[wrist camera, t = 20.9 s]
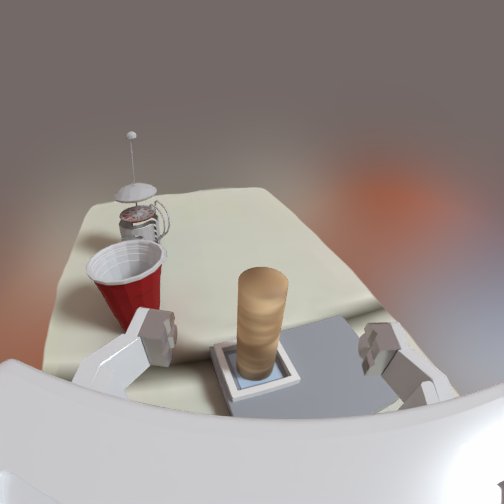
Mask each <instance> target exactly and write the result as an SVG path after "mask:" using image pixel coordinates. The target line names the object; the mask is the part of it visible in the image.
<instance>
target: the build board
mask: <svg viewBox="0 0 504 504" xmlns="http://www.w3.org/2000/svg"><path fill="white" fill-rule="evenodd" d="M359 340H360V338H359V337H358V335H357V334H356V333H355V332H354V330H353V329H352V328H351V327H350V325H349V324H348V323H347V322H346V320H345V319H344V318H343V317H342V315H337V316H334V317H331V318H327V319H324V320H320V321H317V322H313V323H310V324H306V325H303V326H299V327H295V328H291V329H288V330H284V331H280V337H279V342H278V347H277V353H276V358H275V363H274V368H273V372H272V373H271V375H270V376H269V377H268V378H266V379H264V380H260V381H251V380H247V379H245V378H243V377H242V376H241V375H240V374H239V373H238V371H237V368H236V354H237V340H232V341H227V342H222V343H217V344H214V346H213V347H210V356H211V360H212V363H213V366H214V369H215V372H216V375H217V378H218V381H219V384H220V386H221V389H222V392H223V395H224V398H225V401H226V403H227V406H228V409H229V412H230V414H231V417H243V418H260V419H323V418H339V417H351V416H361V415H370V414H376V413H377V412H379V411H381V410H383V409H384V408H386V407H388V406H389V405H391V404H393V403H394V402H396V401H397V400H398V399H399V396H398V395H397V394H396V393H395V392H394V391H393V389H392V388H391V387H390V386H389V385H388V384H387V382H386V381H385V380H384V379H383V378H382V377H381V376H382V375H380V376H364V372H363V368H362V362H363V361H364V360H363V359H362V358H361V357H360V356H359V352H358V343H359Z"/></svg>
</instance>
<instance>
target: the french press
mask: <svg viewBox="0 0 504 504" xmlns="http://www.w3.org/2000/svg"><path fill="white" fill-rule="evenodd" d="M133 138H136V133H134V132H129V133H128V134H127V135H126V139H130V141H131V140H132V139H133ZM131 157H132V171H133V181H134V183H133V184H129V185H127V186H125V187H123V188H121V189H120V190H119V191H118V192H117V193H116V194H115V195H114V198H115V199H116V201H117V202H120V203H136V206H134V207H131V208H128V209H126V210H124V211H122V212H121V214H120V218H121V221H120V223H119V227H120V233H121V236H122V238H123V239H122V242H123V241H128V240H148V241H153V242H155V243H157V244H160V245H161V238H162V237H163V236H164V235H166V234H167V233H168V231H169V228H170V217H169V213H168V211H167V209H166V208H165V206H164V205H163V204H162V203H160V202H159V201H158V200H156V201H155V205H153V204H150V205H149V206H146V205H145V206H143V205H142V206H140V205H139V206H137V202H141V201H144V200H147V199H149V198H152V197H153V196H154V195H155V193H156V188H154V187H153V186H151V185H148V184H143V183H135V180H134V169H133V156H132V141H131ZM156 202H158V203H159V204H161V205H162V206H163V208H164V209H165V211H166V213H167V215H168V219H169V226H168V230H167V232H166V233H165V228H166V227H165V220H164V217H163V215H162V213H161V212H160V210H159V209H158V208H157V207H156ZM151 205H152V206H154V208H153V207H151ZM155 208H156V209H157V210H158V211H159V212H160V214H161V216H162V218H163V222H164V232H163V235H160V230H159V221H158V216H157V215H156V209H155ZM150 218H155V219H156V220H157V221H156V222H155V221H151V220H150V221H148V222H146V223H144V224H141V225H138V226H133V223H138V222H142V221H145V220H148V219H150ZM148 224H153V225H151V226H149V227H146V228H143V229H138V228H141V227H144V226H146V225H148ZM154 224H156V227H155V226H154ZM134 229H135V230H134ZM154 229H155V230H156V231H157V233H156V232H154ZM164 233H165V234H164ZM135 235H139V236H138V237H135ZM155 235H157V237H155ZM142 238H144V239H142ZM162 248H163V247H162ZM163 249H164V248H163ZM164 251H165V254H164V259H163V262H164V261H165V259H166V258H167V251H166V250H165V249H164Z"/></svg>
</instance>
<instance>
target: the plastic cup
mask: <svg viewBox="0 0 504 504" xmlns="http://www.w3.org/2000/svg"><path fill="white" fill-rule="evenodd" d="M164 254H165V251H164V249H163V248H162V246H161V245H160V244H157V243H155V242H153V241H148V240H128V241H123V242H119V243H116V244H112V245H110V246H108V247H106V248H104V249H101V250H100V251H98V252H97V253H96V254H95V255H93V256H92V257H91V258H90V260H89V261H88V263H87V265H86V274H87V275H88V276H89V277H90V278H91V279H92V280H93V281H94V282H95V284H96V285H97V287H98V289H99V290H100V291H101V293H102V295H103V296H104V298H105V300H106V302H107V304H108V305H109V307H110V309H111V310H112V312H113V314H114V316H115V317H116V318H117V319H118V321H119V323H120V324H121V326H122V328H123V329H124V330H125V331H127V329H128V327H129V325H130V323H131V321H132V319H133V317H134V315H135V312H136V310H137V309H138V308H139V307H143V308H149V309H157V310H159V307H160V275H161V266H162V263H163V259H164Z"/></svg>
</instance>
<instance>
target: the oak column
mask: <svg viewBox="0 0 504 504" xmlns="http://www.w3.org/2000/svg"><path fill="white" fill-rule="evenodd" d="M287 290H288V279H287V278H286V276H285V275H284V274H283V273H281V272H279V271H278V270H275V269H272V268H268V267H255V268H250V269H248V270H246V271H244V272H243V273H242V274H241V275H240V276H239V279H238V313H237V354H236V368H237V371H238V373H239V374H240V375H241V376H242V377H243V378H245V379H247V380H251V381H260V380H264V379H266V378H268V377H269V376H270V375H271V373H272V372H273V368H274V363H275V358H276V353H277V347H278V342H279V337H280V331H281V326H282V320H283V314H284V308H285V302H286V296H287Z"/></svg>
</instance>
